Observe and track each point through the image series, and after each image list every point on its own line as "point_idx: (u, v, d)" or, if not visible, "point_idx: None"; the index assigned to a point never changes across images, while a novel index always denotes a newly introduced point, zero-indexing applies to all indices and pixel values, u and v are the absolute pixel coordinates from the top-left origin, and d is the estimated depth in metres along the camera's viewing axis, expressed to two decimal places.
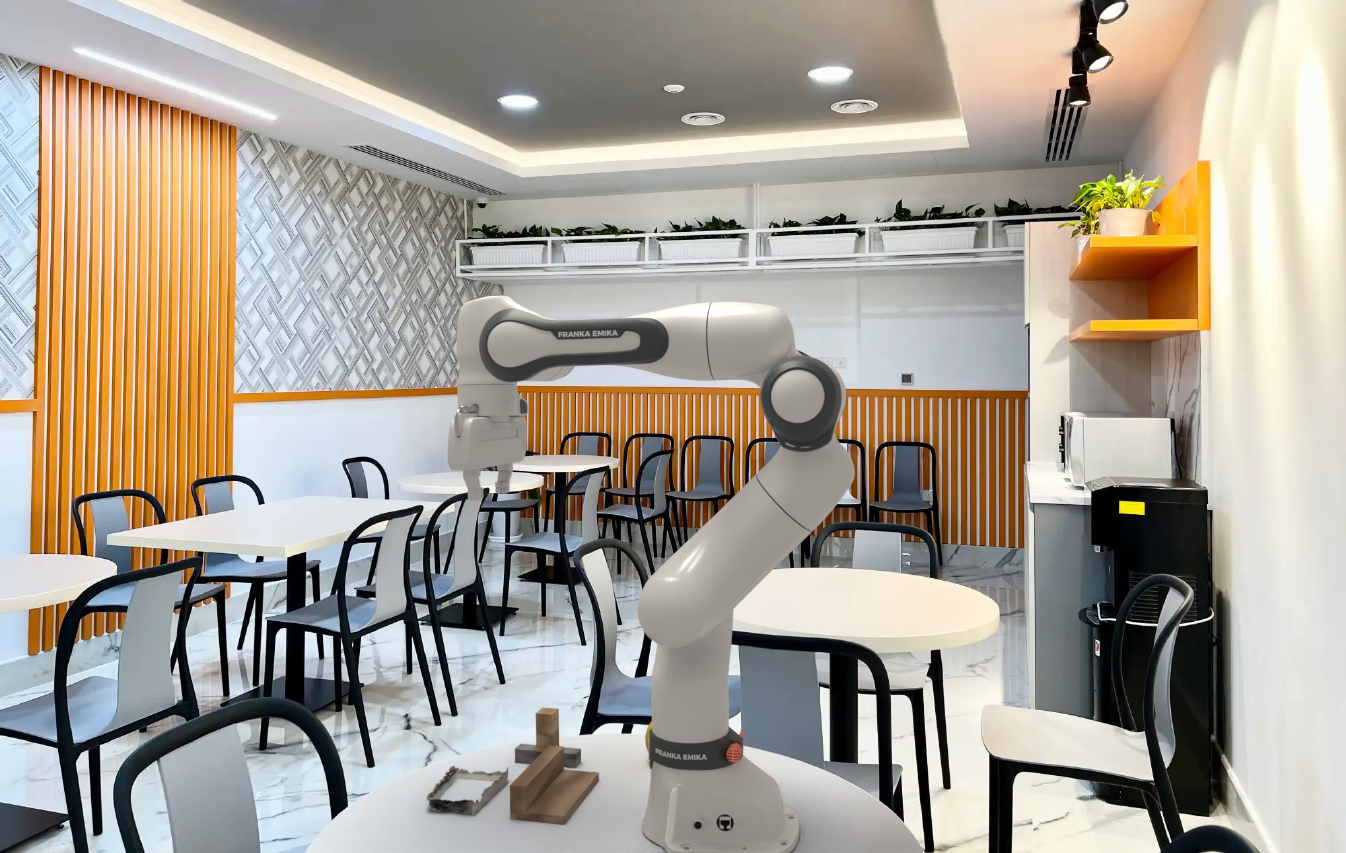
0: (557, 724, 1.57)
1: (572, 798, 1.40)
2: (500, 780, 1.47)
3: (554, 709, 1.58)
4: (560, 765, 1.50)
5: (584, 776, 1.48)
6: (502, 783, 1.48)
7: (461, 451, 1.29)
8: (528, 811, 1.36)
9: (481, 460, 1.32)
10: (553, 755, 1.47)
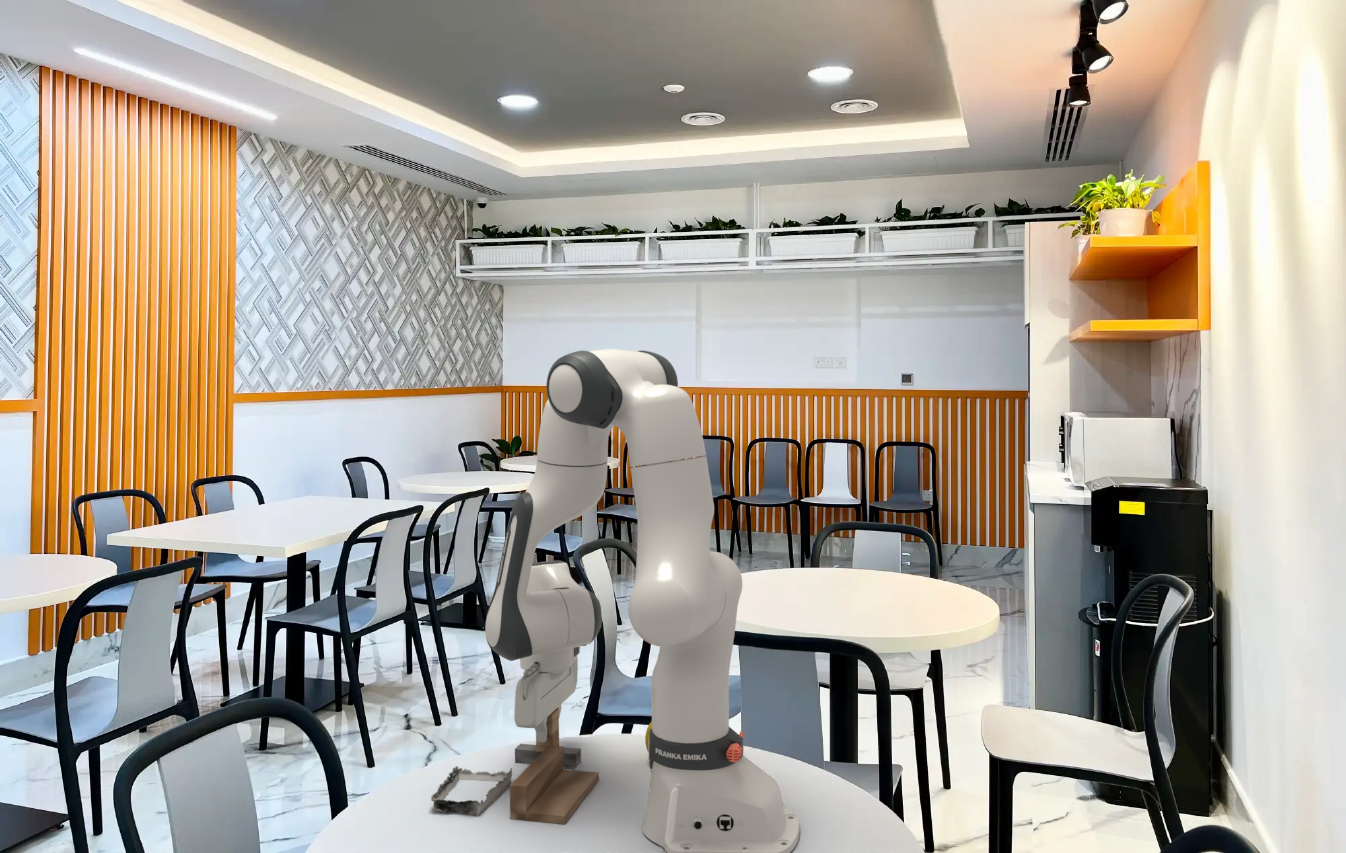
0: (557, 724, 1.57)
1: (572, 798, 1.40)
2: (504, 781, 1.46)
3: None
4: (560, 765, 1.50)
5: (584, 776, 1.48)
6: (506, 784, 1.48)
7: (526, 712, 1.47)
8: (528, 811, 1.36)
9: (542, 714, 1.50)
10: (553, 755, 1.47)
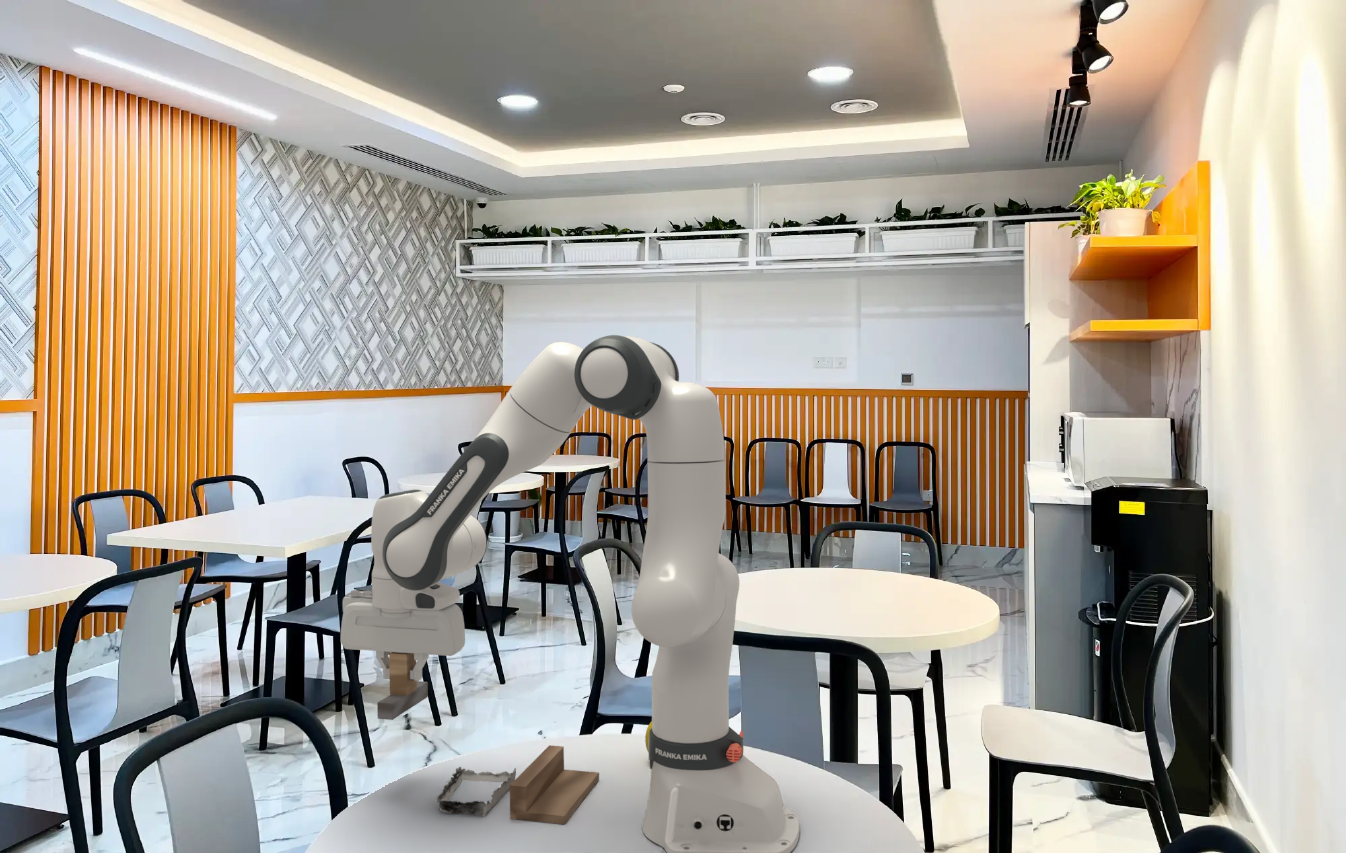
0: (402, 669, 1.45)
1: (572, 798, 1.40)
2: (508, 781, 1.46)
3: (405, 653, 1.45)
4: (560, 765, 1.50)
5: (584, 776, 1.48)
6: None
7: None
8: (528, 811, 1.36)
9: (359, 642, 1.46)
10: (553, 755, 1.47)
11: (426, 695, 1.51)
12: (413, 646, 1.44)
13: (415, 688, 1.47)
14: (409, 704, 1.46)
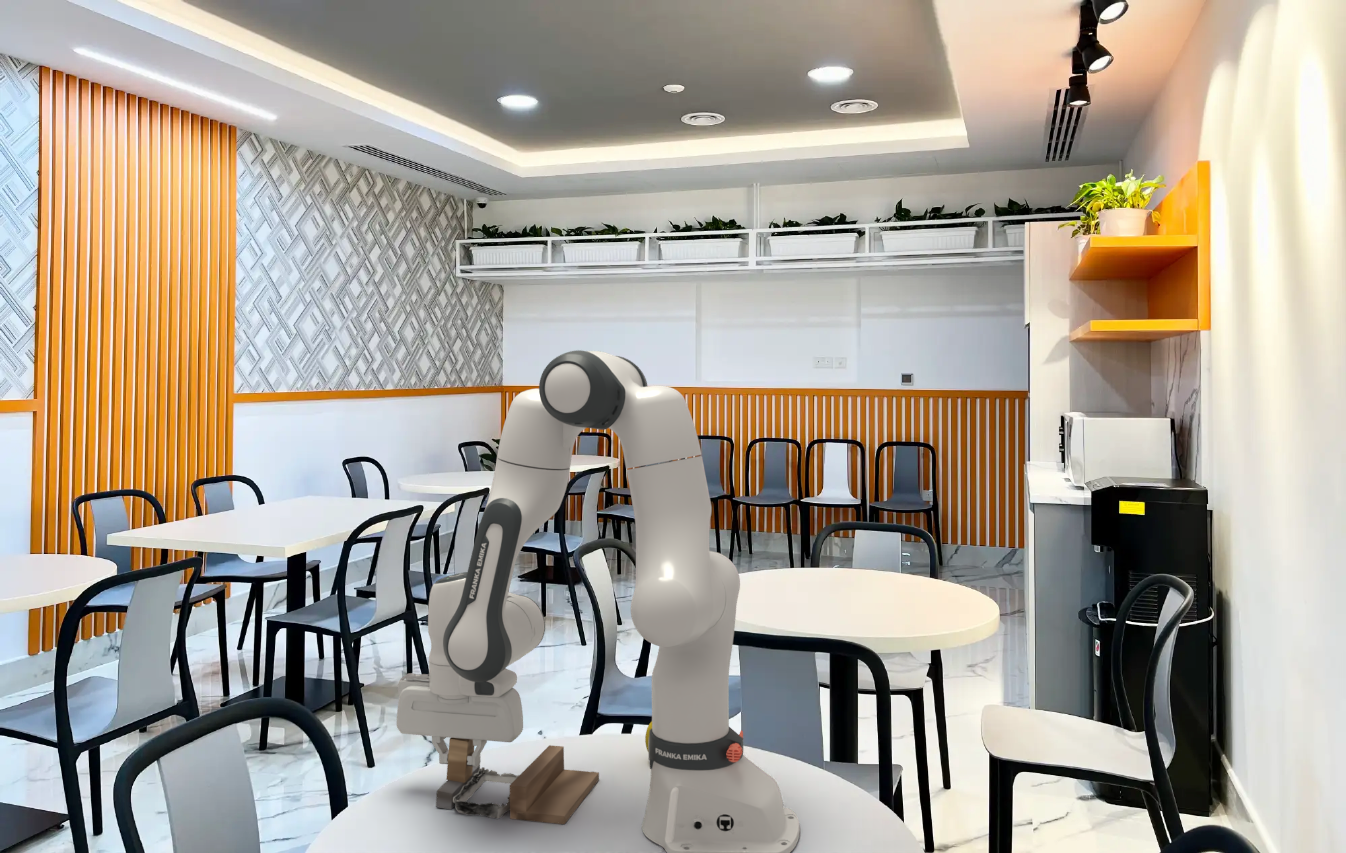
0: (462, 756, 1.43)
1: (572, 798, 1.40)
2: None
3: (466, 740, 1.44)
4: (560, 765, 1.50)
5: (584, 776, 1.48)
6: None
7: None
8: (528, 811, 1.36)
9: (415, 727, 1.44)
10: (553, 755, 1.47)
11: None
12: (471, 732, 1.42)
13: (471, 773, 1.46)
14: None
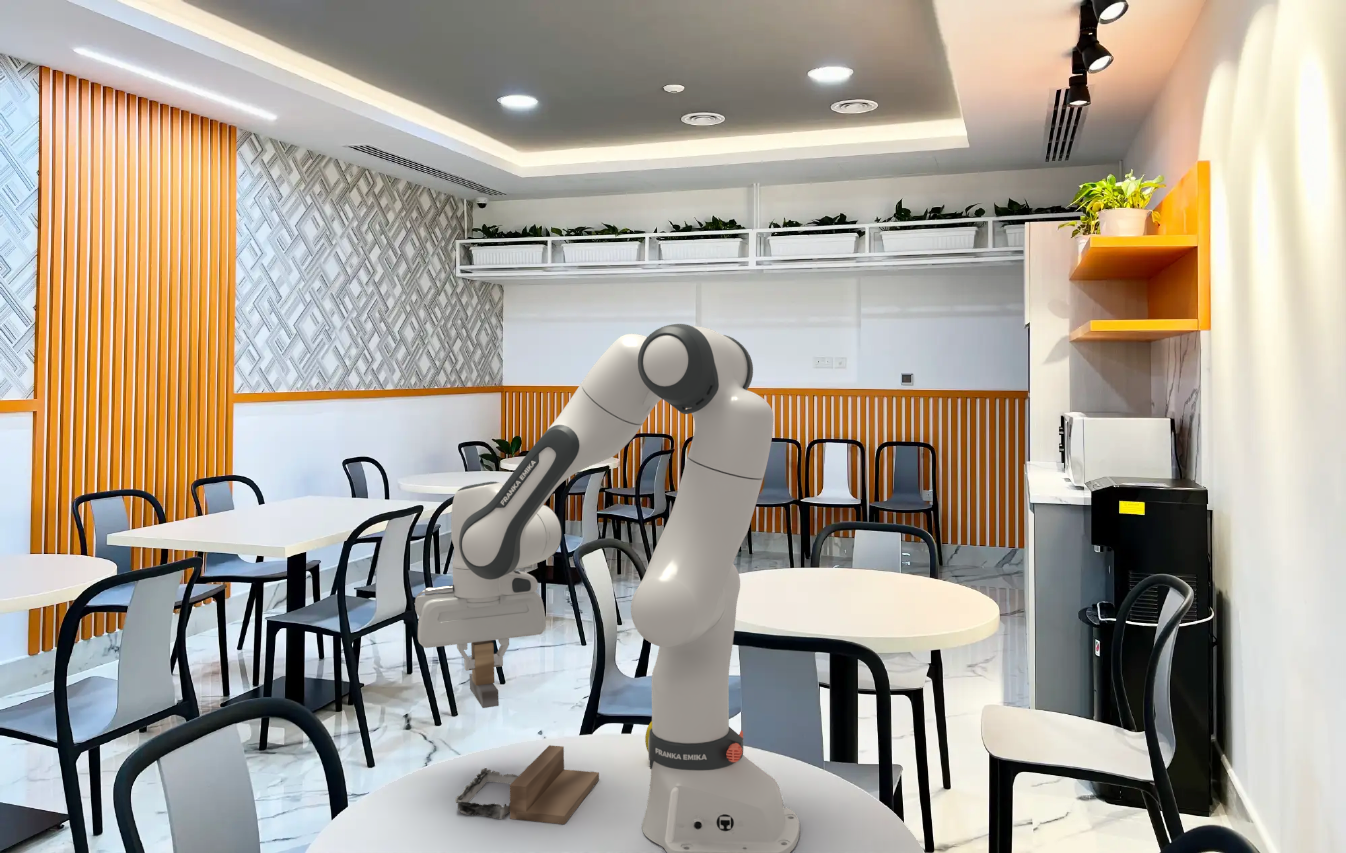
0: (489, 658, 1.49)
1: (572, 798, 1.40)
2: None
3: (489, 642, 1.49)
4: (560, 765, 1.50)
5: (584, 776, 1.48)
6: None
7: (419, 630, 1.45)
8: (528, 811, 1.36)
9: (443, 638, 1.45)
10: (553, 755, 1.47)
11: None
12: (503, 631, 1.48)
13: None
14: None
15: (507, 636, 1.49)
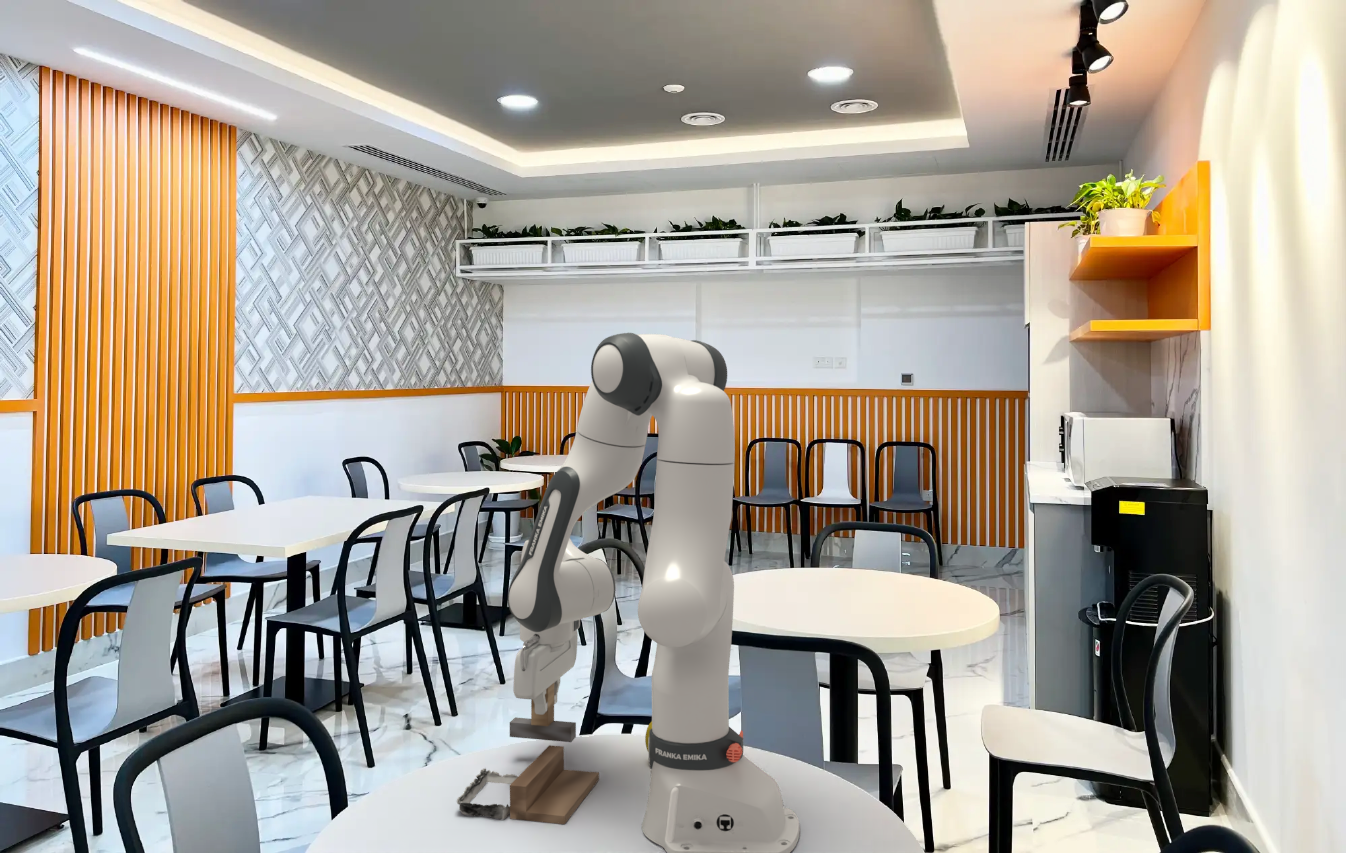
0: (552, 698, 1.58)
1: (572, 798, 1.40)
2: None
3: None
4: (560, 765, 1.50)
5: (584, 776, 1.48)
6: None
7: (526, 683, 1.47)
8: (528, 811, 1.36)
9: (541, 686, 1.50)
10: (553, 755, 1.47)
11: None
12: (562, 670, 1.59)
13: None
14: None
15: (563, 673, 1.60)
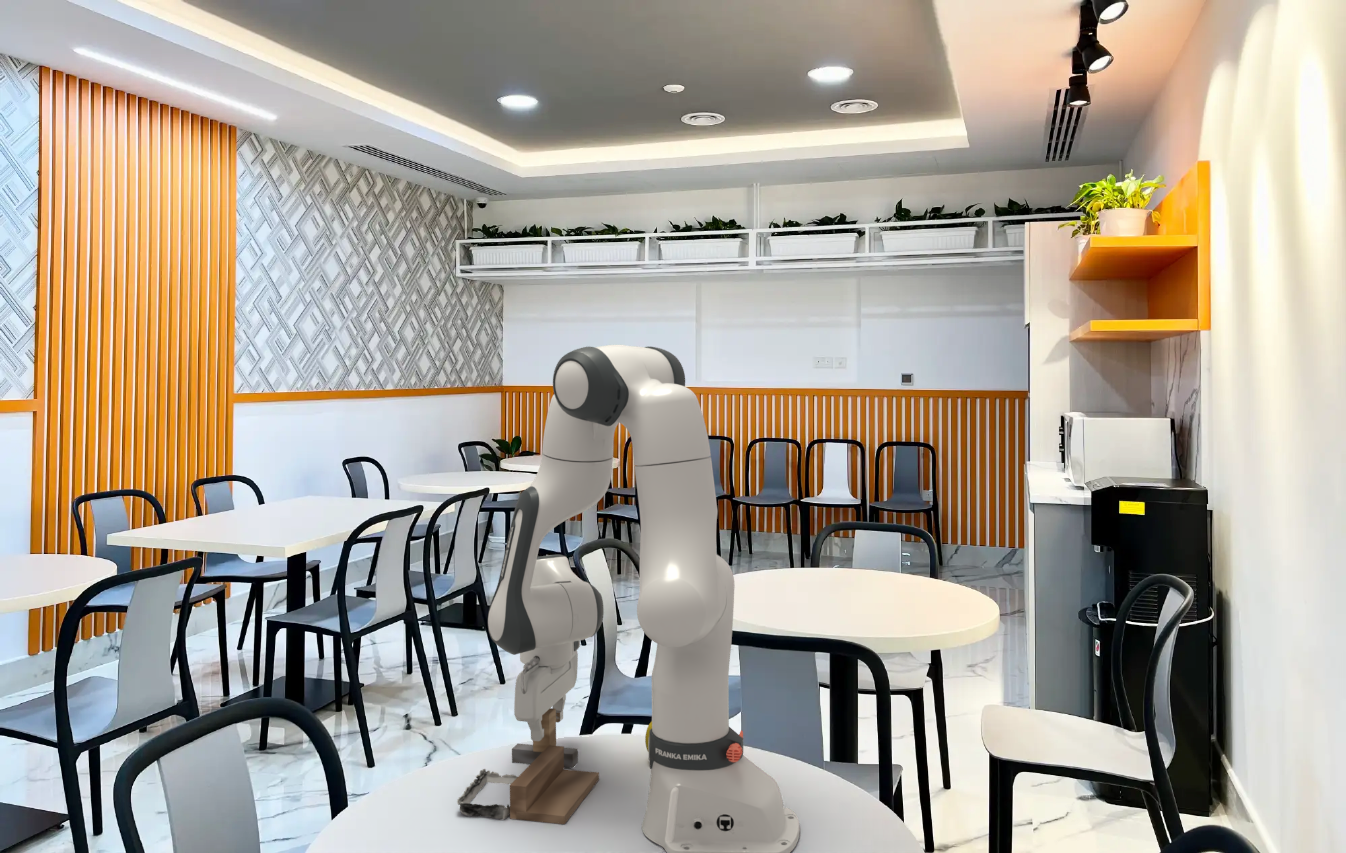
0: (554, 724, 1.57)
1: (572, 798, 1.40)
2: None
3: (551, 709, 1.58)
4: (560, 765, 1.50)
5: (584, 776, 1.48)
6: None
7: (526, 706, 1.47)
8: (528, 811, 1.36)
9: (542, 708, 1.50)
10: (553, 755, 1.47)
11: None
12: (563, 690, 1.59)
13: None
14: None
15: (564, 694, 1.60)
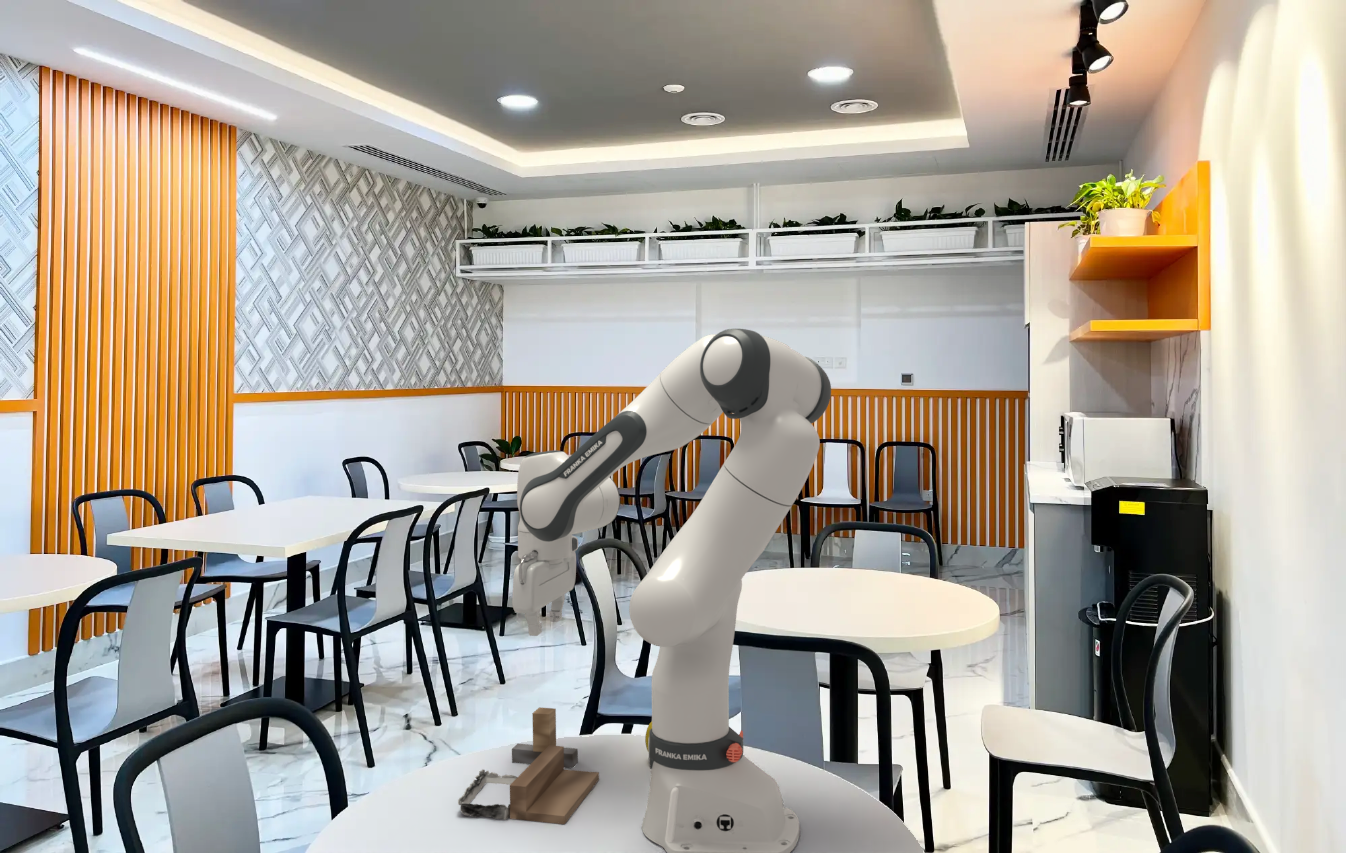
0: (554, 724, 1.57)
1: (572, 798, 1.40)
2: None
3: (551, 709, 1.58)
4: (560, 765, 1.50)
5: (584, 776, 1.48)
6: None
7: (525, 597, 1.46)
8: (528, 811, 1.36)
9: (541, 601, 1.50)
10: (553, 755, 1.47)
11: None
12: (561, 590, 1.59)
13: None
14: None
15: (562, 594, 1.59)
